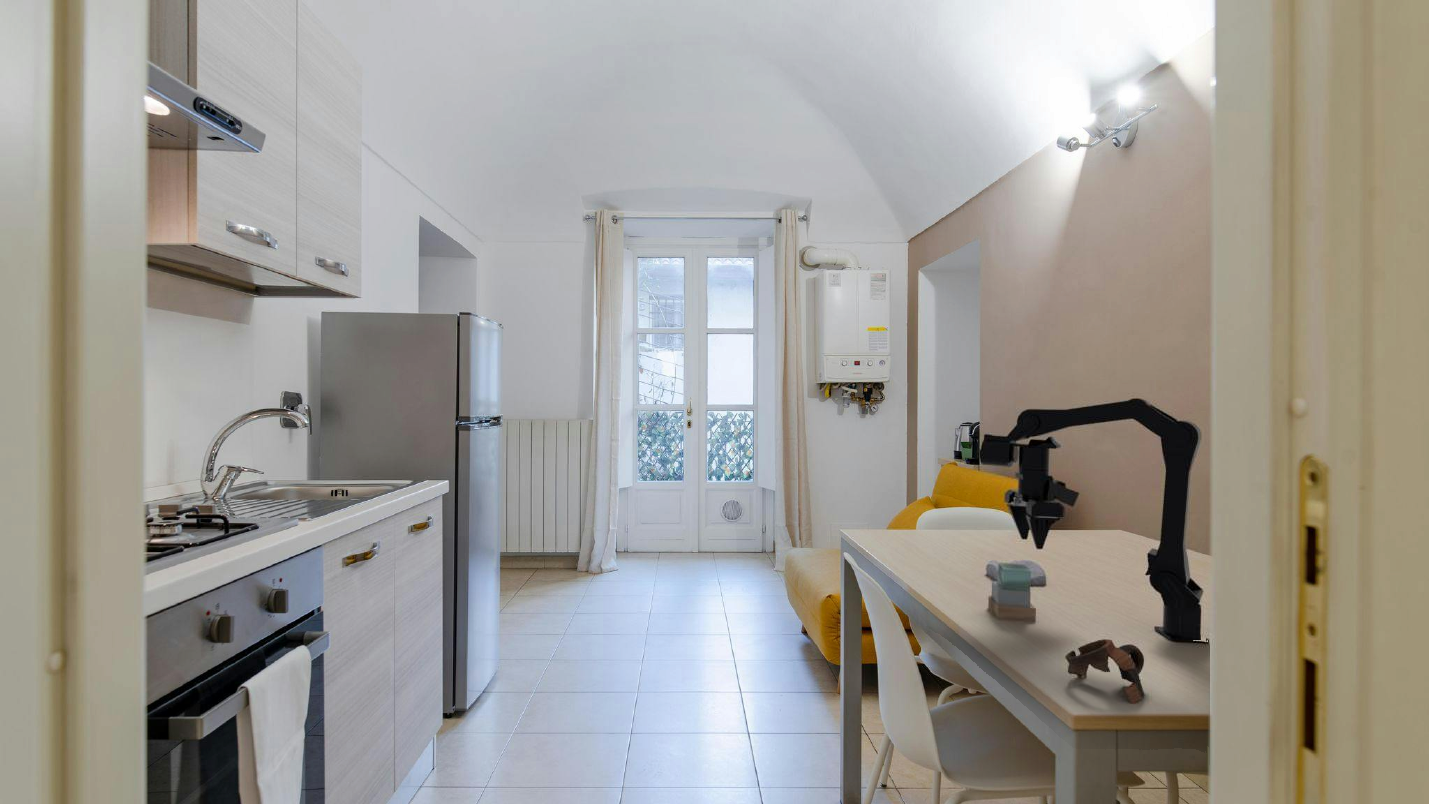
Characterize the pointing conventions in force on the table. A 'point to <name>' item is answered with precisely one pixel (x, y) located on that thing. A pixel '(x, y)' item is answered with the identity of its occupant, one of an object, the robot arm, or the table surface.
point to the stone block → (1036, 570)
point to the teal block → (1014, 577)
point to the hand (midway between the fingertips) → (1031, 544)
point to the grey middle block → (1010, 596)
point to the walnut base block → (1012, 611)
